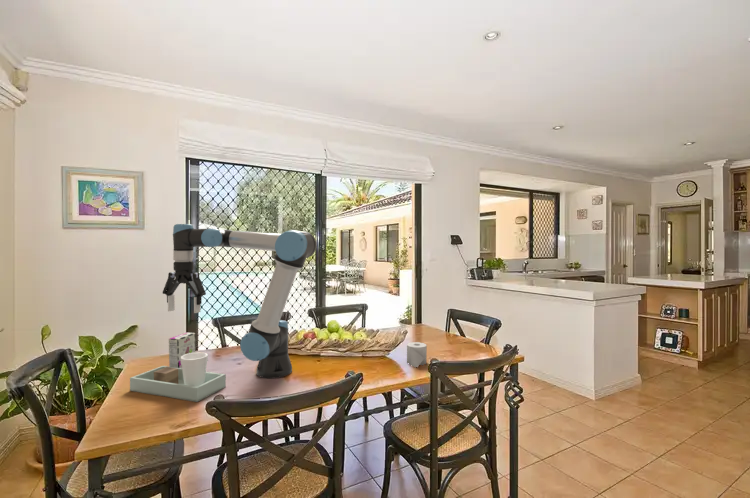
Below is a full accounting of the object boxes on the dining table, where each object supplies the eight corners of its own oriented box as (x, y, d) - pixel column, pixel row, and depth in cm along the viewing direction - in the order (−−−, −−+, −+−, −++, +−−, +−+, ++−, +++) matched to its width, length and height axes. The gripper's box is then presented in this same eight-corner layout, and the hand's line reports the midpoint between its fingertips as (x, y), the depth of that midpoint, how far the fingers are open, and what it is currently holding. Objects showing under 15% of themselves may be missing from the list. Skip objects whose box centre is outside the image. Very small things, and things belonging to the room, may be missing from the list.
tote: (225, 386, 149) (225, 374, 149) (197, 402, 135) (196, 388, 134) (162, 377, 159) (162, 365, 159) (130, 390, 144) (129, 377, 144)
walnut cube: (178, 383, 150) (178, 368, 150) (165, 389, 145) (165, 373, 145) (166, 381, 152) (166, 367, 152) (153, 387, 146) (153, 371, 146)
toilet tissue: (416, 369, 171) (416, 350, 170) (403, 360, 183) (403, 343, 183) (434, 366, 174) (434, 348, 174) (420, 358, 186) (420, 341, 186)
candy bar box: (186, 367, 171) (186, 332, 171) (196, 368, 170) (196, 332, 170) (168, 376, 160) (168, 338, 160) (178, 377, 159) (178, 338, 159)
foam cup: (186, 385, 149) (186, 352, 148) (210, 384, 149) (211, 352, 149) (176, 394, 139) (176, 360, 139) (202, 394, 140) (202, 359, 140)
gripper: (214, 261, 157) (215, 311, 157) (167, 260, 164) (168, 308, 165) (201, 261, 150) (201, 314, 150) (152, 261, 157) (153, 311, 157)
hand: (184, 311), depth 157 cm, fingers open, 13 cm apart
